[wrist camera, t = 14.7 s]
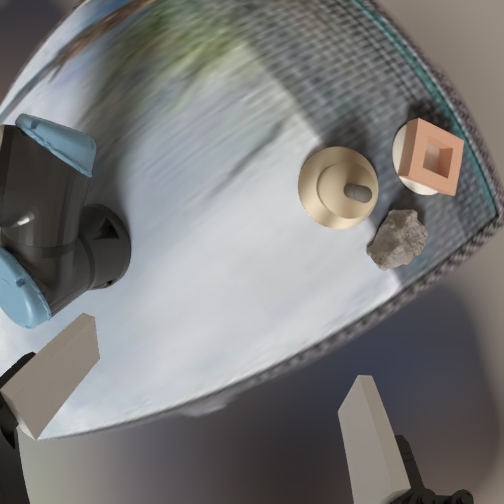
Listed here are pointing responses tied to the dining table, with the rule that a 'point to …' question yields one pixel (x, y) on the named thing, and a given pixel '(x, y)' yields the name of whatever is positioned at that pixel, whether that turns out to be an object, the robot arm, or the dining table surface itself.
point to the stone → (398, 239)
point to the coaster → (429, 162)
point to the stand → (338, 187)
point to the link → (415, 153)
